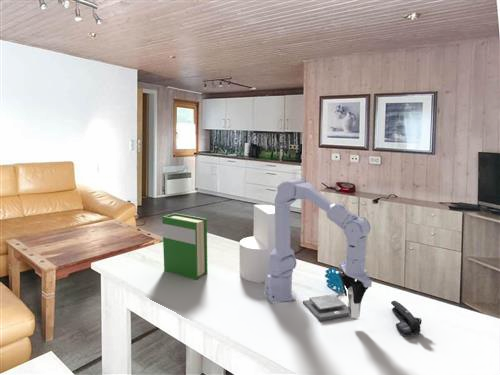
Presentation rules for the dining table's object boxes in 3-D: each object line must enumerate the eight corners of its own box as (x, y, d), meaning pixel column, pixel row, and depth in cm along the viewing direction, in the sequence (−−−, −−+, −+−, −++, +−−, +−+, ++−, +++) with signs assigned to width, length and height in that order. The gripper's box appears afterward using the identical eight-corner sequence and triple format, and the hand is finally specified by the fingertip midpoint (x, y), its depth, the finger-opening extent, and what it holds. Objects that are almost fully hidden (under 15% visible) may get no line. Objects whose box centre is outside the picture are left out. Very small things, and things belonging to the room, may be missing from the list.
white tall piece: (271, 263, 162) (272, 203, 158) (287, 279, 146) (288, 212, 141) (234, 268, 157) (234, 206, 152) (246, 284, 141) (247, 215, 136)
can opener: (426, 340, 105) (427, 322, 104) (401, 339, 106) (403, 322, 105) (404, 310, 123) (405, 294, 122) (383, 309, 123) (384, 294, 122)
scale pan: (320, 310, 118) (320, 308, 118) (309, 299, 125) (309, 297, 125) (345, 306, 120) (345, 304, 120) (333, 295, 128) (333, 294, 128)
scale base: (320, 322, 114) (320, 316, 114) (302, 302, 127) (302, 298, 126) (355, 316, 118) (356, 311, 118) (335, 298, 130) (335, 293, 130)
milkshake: (341, 313, 114) (341, 283, 112) (357, 311, 114) (357, 281, 113) (347, 320, 109) (347, 289, 108) (364, 318, 110) (364, 287, 109)
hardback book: (207, 273, 151) (206, 218, 147) (196, 280, 145) (195, 222, 141) (176, 265, 160) (174, 213, 156) (164, 270, 154) (162, 216, 150)
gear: (334, 292, 131) (323, 267, 136) (324, 299, 135) (313, 274, 140) (353, 288, 138) (341, 265, 143) (343, 295, 141) (332, 272, 146)
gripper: (381, 265, 103) (378, 308, 105) (353, 248, 117) (351, 287, 119) (360, 267, 101) (357, 312, 103) (334, 250, 115) (332, 290, 117)
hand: (352, 299), depth 111 cm, fingers closed on milkshake, 4 cm apart
